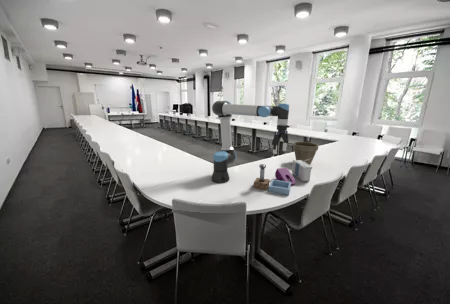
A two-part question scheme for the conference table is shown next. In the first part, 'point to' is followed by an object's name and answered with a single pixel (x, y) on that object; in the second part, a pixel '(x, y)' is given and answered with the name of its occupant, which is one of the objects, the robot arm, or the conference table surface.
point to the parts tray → (280, 187)
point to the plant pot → (305, 151)
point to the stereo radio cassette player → (301, 170)
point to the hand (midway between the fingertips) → (279, 152)
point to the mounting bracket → (284, 175)
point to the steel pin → (262, 172)
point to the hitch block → (261, 184)
